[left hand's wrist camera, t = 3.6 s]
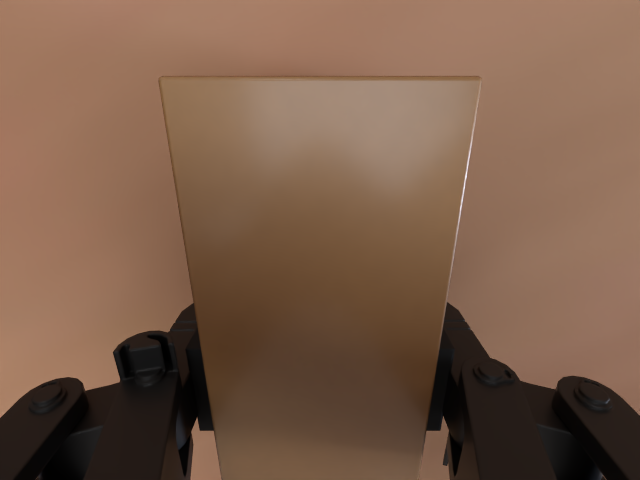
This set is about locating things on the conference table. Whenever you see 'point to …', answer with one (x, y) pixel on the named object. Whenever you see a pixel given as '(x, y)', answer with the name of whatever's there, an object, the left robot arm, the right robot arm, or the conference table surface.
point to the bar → (320, 261)
